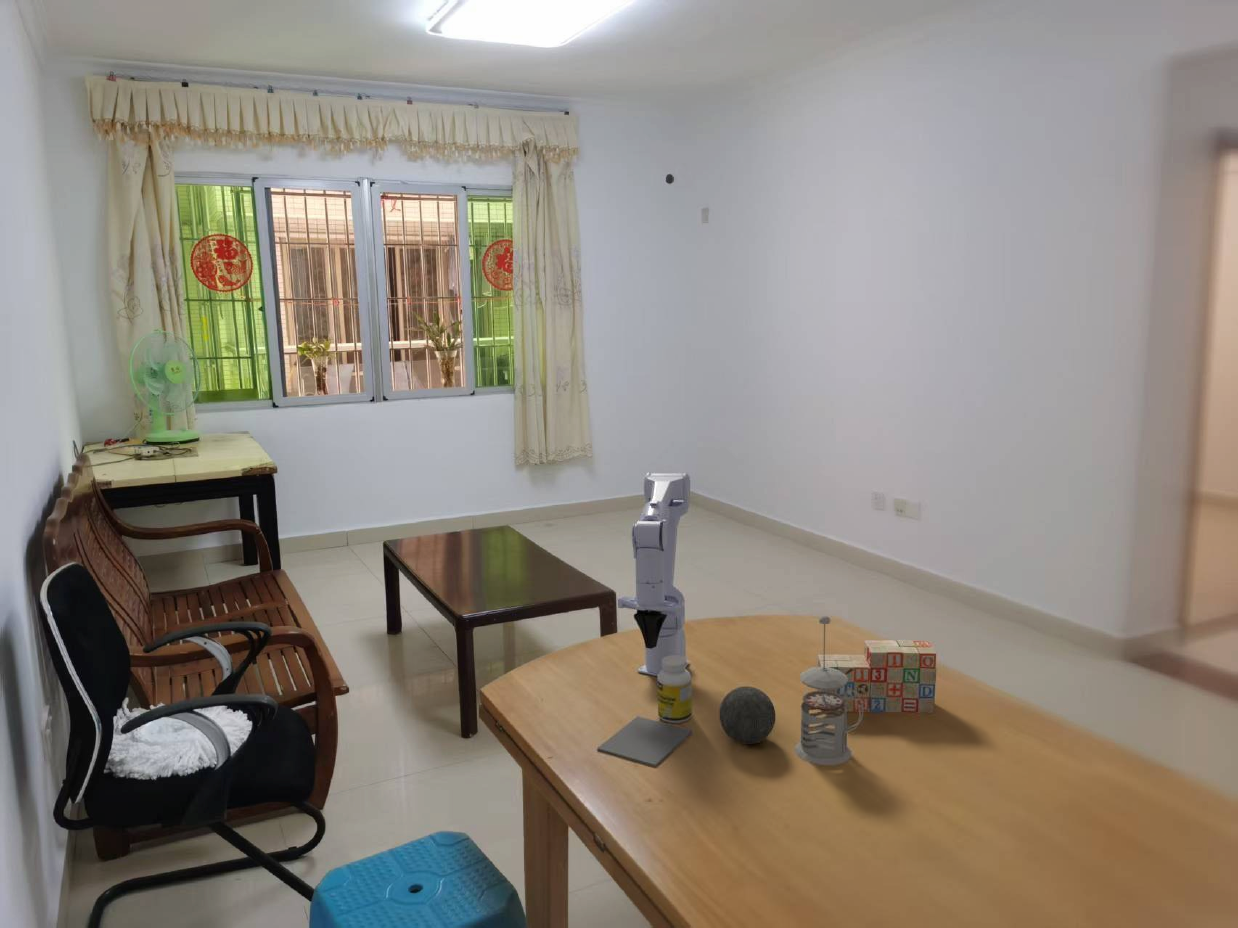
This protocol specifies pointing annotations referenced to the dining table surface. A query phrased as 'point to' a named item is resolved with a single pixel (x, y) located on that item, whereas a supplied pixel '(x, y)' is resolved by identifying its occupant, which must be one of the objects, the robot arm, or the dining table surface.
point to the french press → (828, 741)
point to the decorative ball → (747, 715)
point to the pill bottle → (674, 690)
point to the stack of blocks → (888, 676)
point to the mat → (645, 741)
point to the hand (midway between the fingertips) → (651, 647)
